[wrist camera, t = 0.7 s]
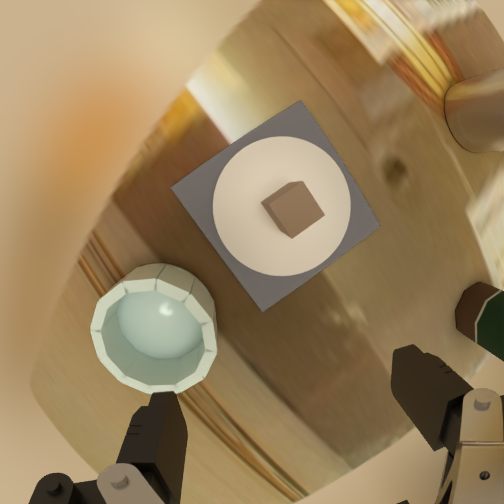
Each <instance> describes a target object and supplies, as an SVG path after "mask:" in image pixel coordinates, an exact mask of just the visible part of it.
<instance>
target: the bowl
mask: <svg viewBox="0 0 504 504" xmlns="http://www.w3.org/2000/svg"><path fill="white" fill-rule="evenodd" d="M90 329H91V330H90V331H91V335H92V339H93V342H94V346H95V349H96V352H97V356H98V358H99V360H100V361H101V362H102V363H103V364H104V365H105V367H106V368H107V369H108V370H109V371H110V372H111V373H112V374H113V375H114V376H115V377H116V378H117V379H118V380H119V381H121V383H123V384H126V385H128V386H130V387H133V388H135V389H138V390H140V391H142V392H145V393H147V394H149V393H150V394H152V393H153V392H165V391H174V392H175V393H179V392H180V393H181V392H182V391H184V390H186V389H188V388H189V387H191V386H193V385H194V384H196V383H198V382H199V381H201V380H203V379H204V377H206V375H207V373H208V371H209V369H210V367H211V364H212V362H213V360H214V358H215V356H216V354H217V329H218V328H217V320H216V309H215V304H214V301H213V299H212V296H211V294H210V292H209V291H208V289H207V288H206V286H205V285H204V284H203V283H202V282H201V281H200V280H199V279H198V278H197V277H196V276H195V275H193V274H192V273H191V272H189V271H187V270H185V269H183V268H181V267H178V266H176V265H172V264H167V263H152V264H146V265H143V266H140V267H137V268H135V269H134V270H132V271H131V272H130V273H128V274H127V275H126V276H125V277H124V278H122V279H121V280H120V281H119V282H117V283H116V284H115V285H114V286H113V287H112V288H111V289H110V290H109V291H108V292H107V293H106V294H105V295H104V296H103V297H101V298H100V299H99V301H98V303H97V306H96V309H95V313H94V316H93V320H92V324H91V327H90Z"/></svg>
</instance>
